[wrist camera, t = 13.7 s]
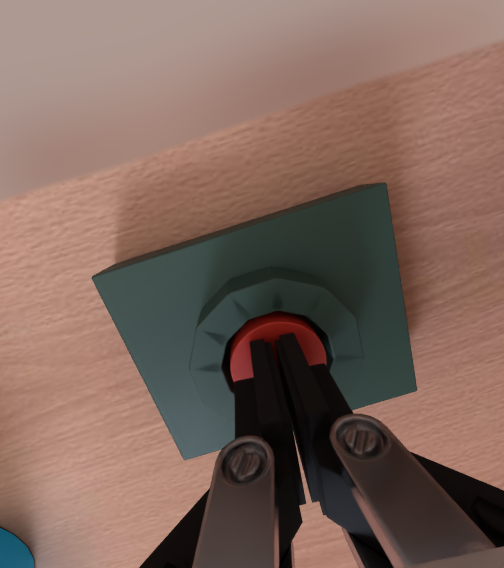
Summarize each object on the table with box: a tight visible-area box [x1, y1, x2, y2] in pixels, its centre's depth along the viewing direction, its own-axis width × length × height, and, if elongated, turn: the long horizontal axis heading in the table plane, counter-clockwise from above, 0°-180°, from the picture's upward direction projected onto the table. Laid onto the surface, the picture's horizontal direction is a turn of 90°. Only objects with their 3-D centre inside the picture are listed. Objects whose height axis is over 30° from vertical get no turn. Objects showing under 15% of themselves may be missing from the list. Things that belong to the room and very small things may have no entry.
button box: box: [92, 183, 417, 460], centre depth 12 cm, size 12×10×4 cm
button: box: [230, 311, 326, 392], centre depth 11 cm, size 4×4×2 cm
